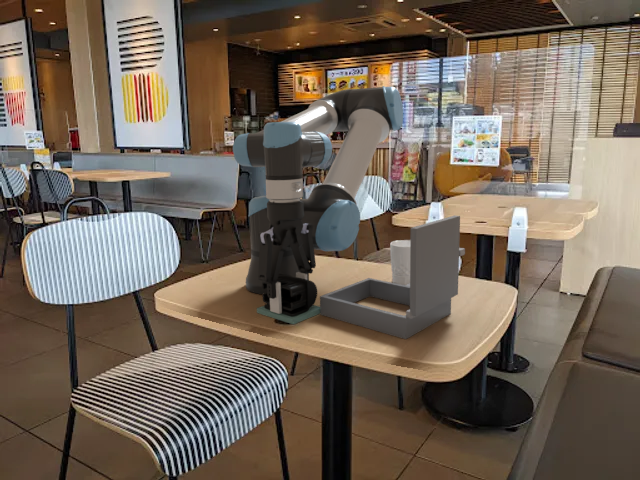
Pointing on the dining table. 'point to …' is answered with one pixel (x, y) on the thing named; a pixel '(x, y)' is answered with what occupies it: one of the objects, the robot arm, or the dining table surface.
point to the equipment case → (421, 294)
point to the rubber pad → (292, 320)
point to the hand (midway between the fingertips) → (289, 306)
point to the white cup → (400, 261)
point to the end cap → (293, 295)
